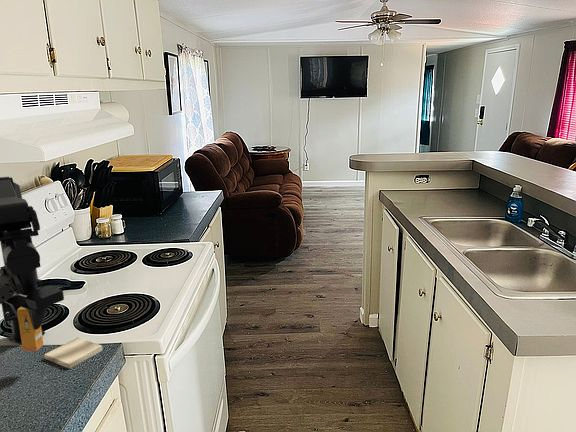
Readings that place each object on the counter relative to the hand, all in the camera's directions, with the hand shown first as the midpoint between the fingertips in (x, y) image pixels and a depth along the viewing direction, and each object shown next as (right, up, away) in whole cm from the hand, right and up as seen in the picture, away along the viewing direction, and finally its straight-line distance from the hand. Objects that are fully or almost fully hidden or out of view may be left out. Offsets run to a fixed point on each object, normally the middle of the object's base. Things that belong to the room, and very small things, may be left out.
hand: (30, 326), depth 99 cm
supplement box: (0, -5, +1) cm, 5 cm away
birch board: (+6, -9, +9) cm, 14 cm away
